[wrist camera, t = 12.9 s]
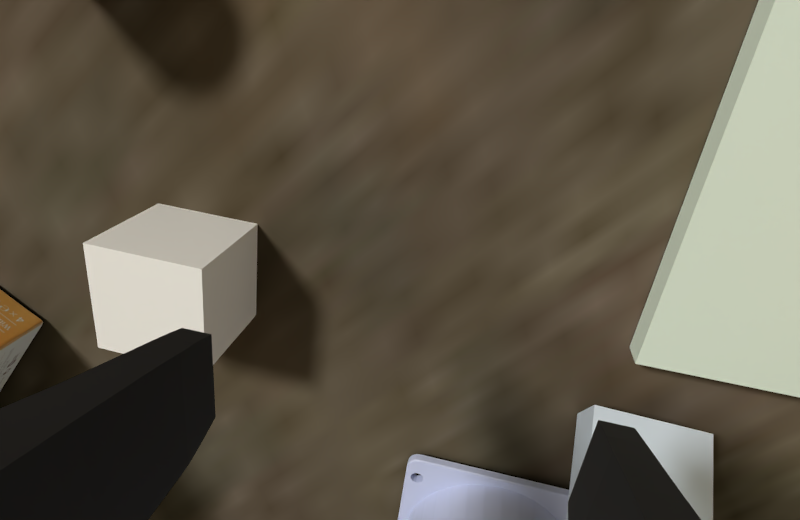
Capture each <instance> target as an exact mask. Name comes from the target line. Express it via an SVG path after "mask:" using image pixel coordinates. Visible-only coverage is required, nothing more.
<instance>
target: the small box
mask: <svg viewBox="0 0 800 520" xmlns="http://www.w3.org/2000/svg"><path fill="white" fill-rule="evenodd" d="M42 324H43V321H42V320H41V319H40V318H38V317H37V316H36V315H34V314H33V313H31V312H30V311H28V310H27V309H26V308H24V307H23V306H22V305H20V304H19V303H18V302H16V301H15V300H14V299H12V298H11V297H10V296H8V295H7V294H6V293H4V292H3V291H2V290H1V289H0V391H1V389H2V388H3V386H4V384H5V383H6V381H7V380H8V378H9V376H10V375H11V374H12V372H13V370H14V369H15V367H16V366H17V364H18V362H19V361H20V359H21V357H22V356H23V354H24V353H25V351H26V349H27V348H28V346H29V345H30V343H31V342H32V340H33V338H34V337H35V335H36V334H37V332H38V331H39V329H40V328H41V326H42Z"/></svg>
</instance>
